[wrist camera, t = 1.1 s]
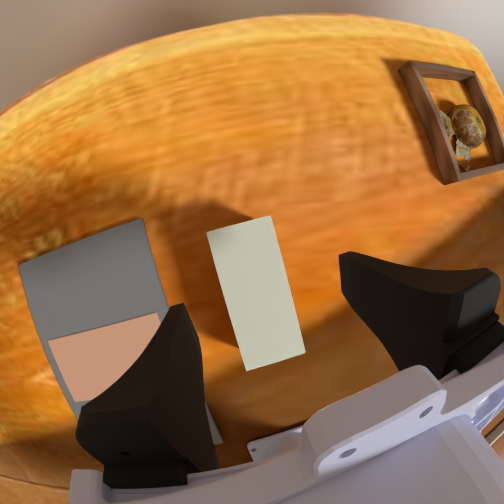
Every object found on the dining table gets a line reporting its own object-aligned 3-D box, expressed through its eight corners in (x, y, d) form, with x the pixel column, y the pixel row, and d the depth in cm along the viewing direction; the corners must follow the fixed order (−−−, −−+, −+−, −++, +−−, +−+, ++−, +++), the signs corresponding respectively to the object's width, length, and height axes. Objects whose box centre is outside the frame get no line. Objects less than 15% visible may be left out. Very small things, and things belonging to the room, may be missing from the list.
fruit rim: (500, 170, 28) (512, 167, 26) (443, 185, 27) (458, 181, 24) (464, 77, 27) (474, 71, 25) (398, 70, 26) (408, 60, 23)
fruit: (425, 121, 27) (444, 110, 23) (448, 93, 27) (465, 83, 24) (464, 176, 27) (484, 170, 24) (482, 143, 28) (500, 136, 24)
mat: (223, 439, 24) (223, 443, 23) (104, 456, 22) (102, 459, 22) (142, 218, 23) (140, 217, 22) (21, 264, 21) (17, 265, 21)
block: (289, 333, 25) (305, 352, 20) (240, 348, 24) (246, 370, 19) (259, 221, 24) (270, 215, 19) (208, 235, 24) (206, 232, 19)
